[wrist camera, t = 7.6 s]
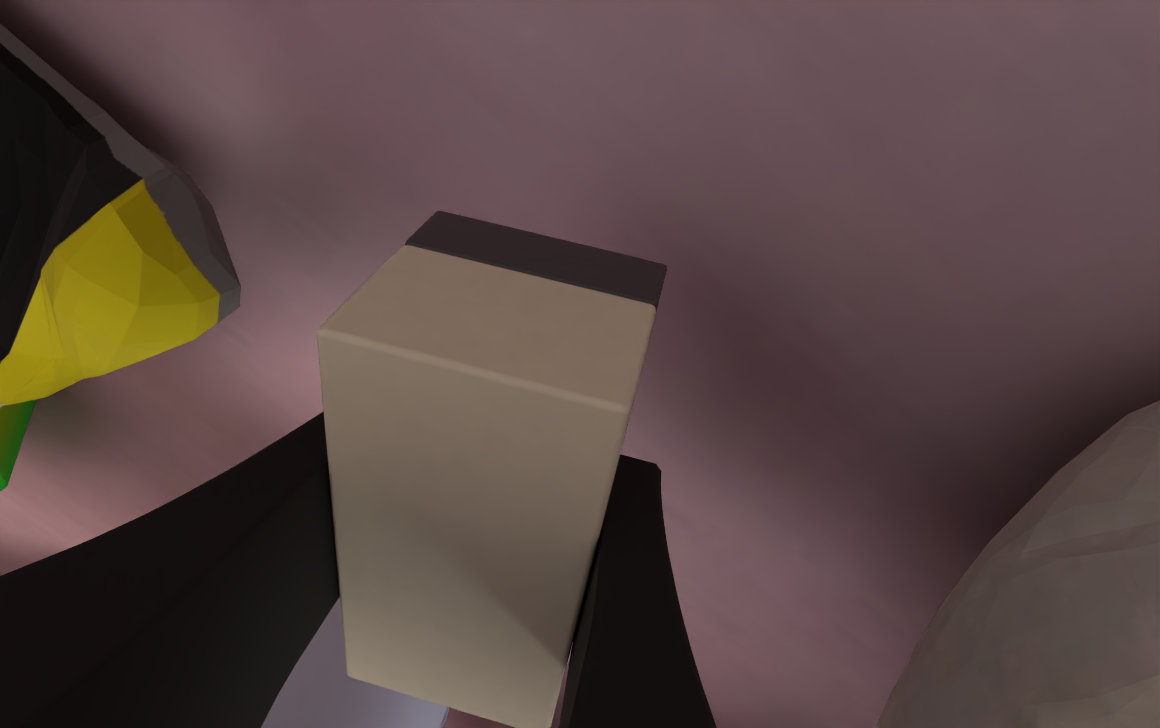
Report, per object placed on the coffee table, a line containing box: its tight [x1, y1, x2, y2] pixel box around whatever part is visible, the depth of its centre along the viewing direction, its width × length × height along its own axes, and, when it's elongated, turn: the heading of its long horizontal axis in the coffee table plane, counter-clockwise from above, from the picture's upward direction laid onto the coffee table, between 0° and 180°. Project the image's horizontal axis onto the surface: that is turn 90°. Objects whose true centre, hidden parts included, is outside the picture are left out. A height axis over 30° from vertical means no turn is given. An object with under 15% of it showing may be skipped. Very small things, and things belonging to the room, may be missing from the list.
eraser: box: [317, 211, 667, 728], centre depth 11 cm, size 4×7×4 cm, turn 171°
